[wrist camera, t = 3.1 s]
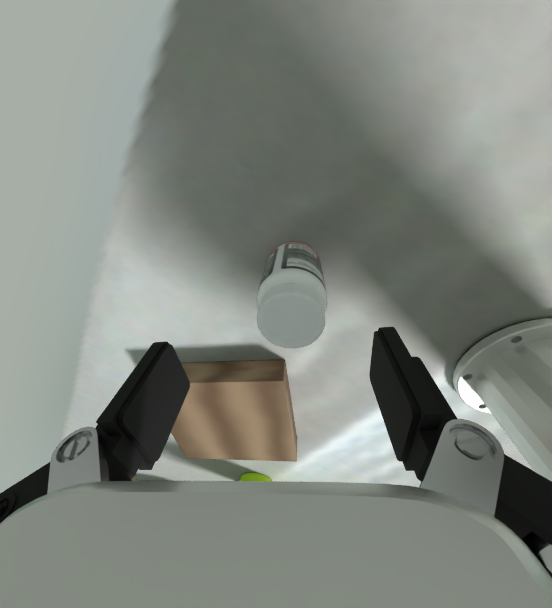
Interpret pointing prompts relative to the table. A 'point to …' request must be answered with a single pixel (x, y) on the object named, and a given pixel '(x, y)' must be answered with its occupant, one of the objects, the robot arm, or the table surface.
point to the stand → (237, 412)
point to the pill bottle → (292, 297)
